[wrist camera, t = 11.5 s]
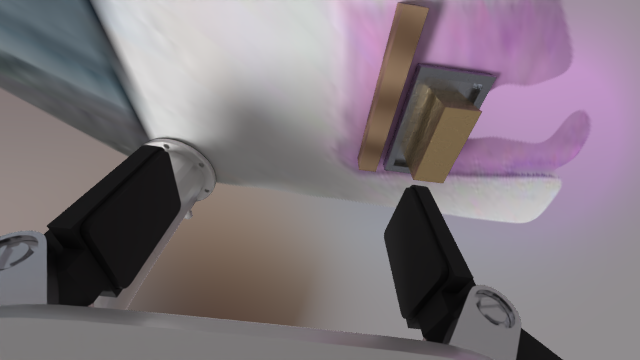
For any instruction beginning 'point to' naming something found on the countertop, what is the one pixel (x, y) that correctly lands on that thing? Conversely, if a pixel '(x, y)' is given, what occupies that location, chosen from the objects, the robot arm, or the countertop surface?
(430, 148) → the bar
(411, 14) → the door edge strip
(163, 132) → the countertop surface
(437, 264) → the robot arm
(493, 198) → the countertop surface
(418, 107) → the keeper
